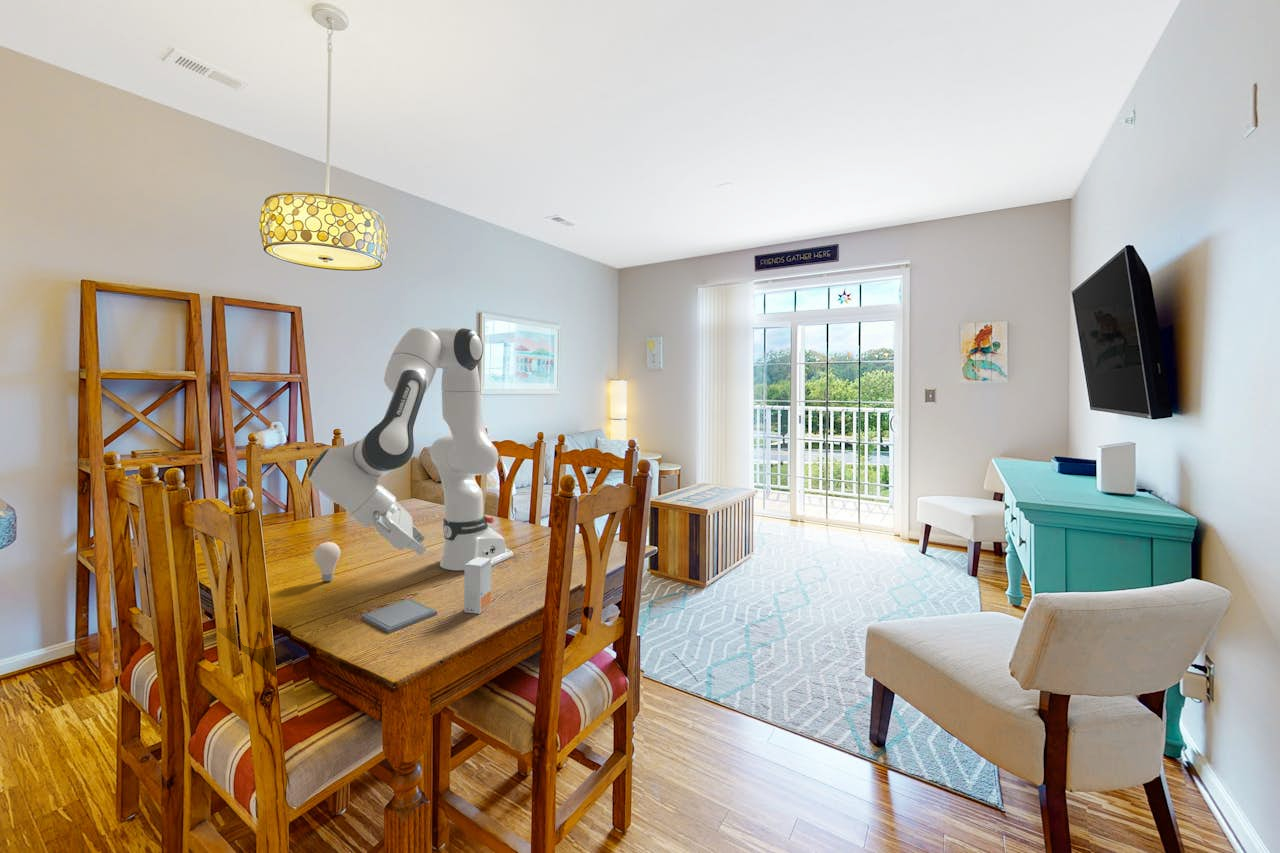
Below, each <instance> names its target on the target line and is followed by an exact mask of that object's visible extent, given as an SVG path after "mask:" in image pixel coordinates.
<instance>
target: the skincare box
mask: <svg viewBox="0 0 1280 853" xmlns="http://www.w3.org/2000/svg"><path fill="white" fill-rule="evenodd" d="M463 571H464V572H463V573H464V575H463V576H464V580H463V582H464V583H463V585H464V586H463V588H464V590H463V591H464V592H463V593H464V594H463V596H464V598H463V601H464V609H463V610H464V611H463V612H464V613H469V614H475V615H476V614H478V615H480V614H481V613H482V612H484V611H485V610H486V609H487V608H488V607H490V606H491V605H492V566H491V558H482V557H476V558H475V559H473V560H471V561H469V562H468V563H467V564H465V565H464V570H463Z"/></svg>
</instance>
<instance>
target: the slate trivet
mask: <svg viewBox="0 0 1280 853" xmlns="http://www.w3.org/2000/svg"><path fill="white" fill-rule="evenodd" d="M436 615H438V610H436V609H434V608H432V607H430V606H427V605H424V604H422V603H420V602H418V601H416V600H414V599H412V598H406V599H403V600H401V601H398V602H395V603H393V604H390V605H386V606H384V607H381V608H378V609H375V610H372V611H369V612H366V613H363V614H361V617H360V618H361V619H362V620H363V621H365V622H368V623H369V624H371V625H373V626H375V627H377V628H378V629H380V630H382V631H384V632H385V633H388V634H391V633H393V632H396V631H398V630H400V629H403V628H406V627H408V626H410V625H413V624H417V623H419V622H421V621H423V620H425V619H429V618H431V617H435V616H436Z"/></svg>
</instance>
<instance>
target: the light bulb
mask: <svg viewBox="0 0 1280 853" xmlns="http://www.w3.org/2000/svg"><path fill="white" fill-rule="evenodd" d="M341 554H342V552H341V549H340V546H339V545H338V544H337V543H335V542H331V541H327V542H323V543H320V544H318V545H317V547H315V549H314V551H313V554H312V557H313V560H314V562H315V564H316V565H317V566H318V568H319V570H320V574H321V580H322V581H323V582H331V581H332V580H334V572H335V570H336V565H337V563H338V561H339V560H340V557H341Z"/></svg>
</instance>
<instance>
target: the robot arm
mask: <svg viewBox="0 0 1280 853" xmlns="http://www.w3.org/2000/svg"><path fill="white" fill-rule="evenodd" d="M483 353H484V344H483V340H482V337H481V336H480V335H479V334H478V332H476V331H475V330H472V329H469V328H463V327H462V328H454V327H452V328H451V327H441V328H433V329H431V328H430V329H428V328H425V327H420V326H417V327H412V328H410V329H408V330H407V331H406V332H405V333H404V335H403V336H402V338H400V340H399V342H398V344H396V346H395V347H394V350H393V352H392V354H391V356H390V358H389V361H388V362H387V365H386V369H385V372H384V378H383V380H384V384H385V386H386V387H387V388H388V390H389V391H391V393H392V396H391V399H390V401H389V403H388V407H387V409H386V411H385V414H384V417H383V418H382V420H381V421H380V422H379V423H378V424H376V425H375V426H374V427H372V429H371V430H370V431H368V433H367V434H366V435H365V436H363V438H361V439H360V440H357V441H355V442H352V443H350V444H346V445H343V446H338V447H335V448H334V447H330V448H326V449H325V450H324V451H322V452H321V454H320V455H319V456H318V457H317V458H316V460H315V461H314V462H313V463H312V465H311V466H310V468H309V470H308V480H310V482H311V483H312V485H313V486H314V487H315V488H316V489H317V490H318V491H320V493H322V494H323V495H324V496H325V497H326V498H327V499H329V500H330V501H332V502H333V503H335V504H337V505H340V506H341V507H342V508H343V509H344V510H345V511H346V512H347V515H349V516H350V517H352V518H353V519H354V520H355V521H357V522H358V523H360V525H362V526H363V527H364V528H367V529H368V528H370V527H371V526H373V527H374V529H375V530H376V532H377V533H378V534H379V535H380V536H381V537H382V538H384V539H385V540H386V541H387V542H388V543H389V544H390V545H392V546H393V547H394V548H396V549H397V550H400V551H403V550H404V549H405V548H407V549H408V550H412V551H413V552H415V553H416V554H417V555H418V556H419V555H420V556H421V555H423V554H424V553H425V552H426V551H427V549H426V546H424V544H422V543H423V541H424V540H425V539H426V538H425V537H426V536H425V535H424V534H423V533H421V532H420V530H419V529H418V528H417V527H416V525H414V524H413V517H412V515H411V514H410V513H409V512H408V511H407V510H406V509H405V508H404V507H403V506H402V505H401V504H400V503H399V502H398V501H397V497H396V496H395V495H394V494H393V493H392V492H390V491H389V490H388V489H387V488H386V487H384V486H383V485H381V483H379V479H380V478H382V477H384V476H385V475H387V474H389V473H391V472H392V471H394V470H396V469H398V468H400V467H403V466H405V465H406V464H407V463H408V462H409V461H410V459H411V458H412V456H413V454H414V448H415V443H414V427H415V423H416V420H417V417H418V415H419V414H418V413H419V410H420V408H421V404H422V402H423V398H424V396H425V394H426V393H427V391H428V389H429V388H430V386H431V384H432V382H433V379H434V377H435V374H436V373H437V369H442V373H441V408H442V419H443V420H444V421H445V423H446V424H447V425H448V428H449V430H450V433H451V435H446V436H442V437H439V438H438V439H436V440H435V441H433V443H432V445H431V446H430V449H429V456H430V459H431V462H432V463H433V465H434V466H435V467H436V469H437V471H438V476H439V479H440V481H441V486H442V490H443V497H444V518H443V529H442V530H443V537H444V540H443V541H444V542H443V550H442V555H441V559H440V563H439V567H440V568H442V569H444V570H449V571H464V565H465V564H467V563H468V562H469V561H471V560H473V559H475V558H476V557H482V558H491V567H493V566H495V565H497V564H500V563H501V562H503V561H505V560H507V559H510V558H512V557H514V552H513V551H512V550H511V549H509V548H507V546H506V542H505V541H506V540H505V538H504V537H503V535H502V534H499V533H498V532H497V531H495V530H493V529H492V528H491V527H489V525H488V524H494V522H495V518H494V517H493V516H489V515H488V516H485V515H484V493H483V491H482V488H481V487H480V486H479V484H478V483H477V480H476V476H484V475H488V474H490V473H491V472H493V471H494V470H495V468H496V467H497V465H498V462H499V452H498V449H497V447H496V446H495V445H494V444H493V442H492V441H491V440H490V437H489V436H488V433H487V429H486V426H485V423H484V420H483V412H482V398H481V395H482V393H481V381H480V380H481V379H480V374H479V368H478V365H479V363H480V362H481V360H482V358H483V355H484V354H483Z"/></svg>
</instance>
